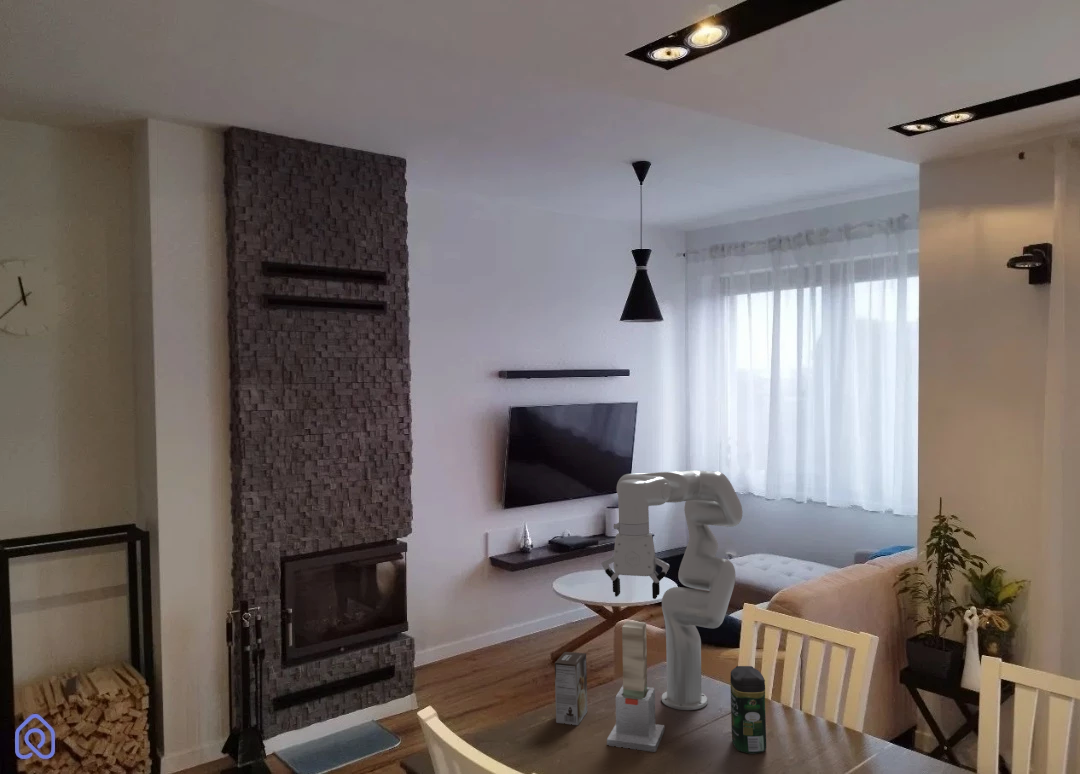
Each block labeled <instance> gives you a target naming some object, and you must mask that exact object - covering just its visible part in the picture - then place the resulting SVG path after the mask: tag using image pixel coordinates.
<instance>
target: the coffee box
mask: <svg viewBox="0 0 1080 774" xmlns="http://www.w3.org/2000/svg"><path fill="white" fill-rule="evenodd" d="M587 670H588V669H587V653H584V652H583V653H582V652H571V651H564V652H563V653H562V654H561V656H559V658H557V660H555V662H554V675H555V676H554V686H555V687H554V689H555V692H554V693H555V695H554V696H555V722H556V723H557V724H564V723H565V724H564V725H571V724H572V725H573V726H579V724H581V722H582V720H583V719H584V717H585V716H586V714H587V713H588V681H587V679H588V676H587V674H588V673H587ZM572 725H571V726H572Z"/></svg>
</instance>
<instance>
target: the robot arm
mask: <svg viewBox="0 0 1080 774" xmlns="http://www.w3.org/2000/svg"><path fill="white" fill-rule="evenodd" d="M616 493H617V499H618V501H617V502H618V522H617V523H613V530H617V531H618V533H617V534H615V538H614V539H615V540H614V552H613V554H614V555H613V556H611V557H609V558H607V559H605V560H603V561H602V562H601V567H602V568H603V570H604V572H605V574H606V575H607V576H608V577H609V578H610V580H611V581H612V592H613V593H614V597H616V598H617V597H619V596H620V594H621V579H620V578H619V576H620V575H621V576H635V577H650V578H651V580H652V585H651V588H652V589H651V590H652V591H651V592H652V599H653V600H656V599H657V597H658V596H660V588H661V587H660V581H661V580H662V579H664V578H665V576H666V575H667V572H668V571H669V569H670V564H669V563H667V562H666V561H664V560H662V559H660V558H659V557H657V556H656V550H655V544H654V538H653V534H652V533H650V518H649V516H650V514H649V512H650V511H649V507H652V506H653V507H654V506H656V507H657V506H662V505H664V504H665V503H668V504H669V503H671V504H672V503H673V504H674V503H675V504H676V503H681V502H684V510H683V511H684V515H685V521H686V525H687V529H688V535H689V536H688V541H687V545H686V549H685V550H684V555H683V557H682V559H681V562H680V565H679V570H678V573H677V574H678V576H677V577H678V580H679V582H680V583H681V585H683V587H680V586H675V587H674V586H673V587H670V588H668V589H667V590H666V591H665V592H664V593H663V596H662V599H661V609H662V614H663V619H664V625H665V642H666V643H665V644H666V645H665V646H666V647H665V649H666V651H665V652H666V691H665V692H663V693H662V694H661V701H662V704H664V705H665V706H667V707H669V708H672V709H675V710H680V711H681V710H682V711H695V710H700V709H703V708H704V707H706V706H707V705H708V696H706V695H705V693H703V691H702V639H701V636H700V633H699V630H698V628H697V627H701V628H707V629H717V628H719V627H720V626H721V625H722V624H723V622H724V619H725V617H726V614H727V611H728V607H729V604H730V600H731V597H732V594H733V591H734V589H735V588H734V587H735V583H736V568H735V565H734V563H733V562H732V561H730V560H729V559H726V558H724V557H723V558H722V557H717V556H716V555H717V552H718V548H719V543H718V540H717V538H716V536H715V534H714V532H713V531H712V530H711V527H710V526H717V527H727V528H733V527H736V526H738V525H739V524H740V522H741V521H742V518H743V507H742V504H741V500H740V498H739V496H738V495H737V492H736V491H735V488H734V485H732V483H731V481H730V480H729V478H728V477H727V476H726V474H724V473H723V472H721V471H717V470H716V471H713V470H712V471H711V470H699V469H698V470H697V469H695V470H694V469H689V470H679V471H678V470H677V471H675V470H674V471H661V472H645V473H643V472H641V473H626V474H623V475H622V476H621V477H620V478H619V480H618V481H617V484H616ZM612 563H613V570H612V569H611V567H610V564H612ZM657 566H659V567H661V568H662V570H661V572H660V573H658V572H657V571H656V569H657ZM684 586H685V587H684Z"/></svg>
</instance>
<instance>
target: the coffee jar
mask: <svg viewBox="0 0 1080 774" xmlns="http://www.w3.org/2000/svg"><path fill="white" fill-rule="evenodd" d="M729 680H730V682H729V683H730V717H731V718H730V719H731V724H730V725H731V741H732V744H733V745H734V747H735V749H736V750H737V751H739V752H741V753H746V754H753V755H755V754H761V753H763V752H765V751H766V750H767V726H766V725H767V724H766V723H767V722H766V721H767V720H766V683H765V682H766V680H765V677H764V675H763V674H762V673H761V672H760V671H759V670H758V669H757V668H755V667H753V666H752V665H737V666H735V667H734V668H733V669H732V670H731V671H730V679H729Z"/></svg>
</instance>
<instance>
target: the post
mask: <svg viewBox="0 0 1080 774" xmlns="http://www.w3.org/2000/svg"><path fill="white" fill-rule="evenodd" d="M621 631H622V632H621V635H622V636H621V637H622V638H621V639H622V640H621V641H622V643H621V644H622V686H623V696H631V697H639V698H645V696H646V694H647V687H648V663H647V662H648V661H647V660H648V659H647V658H648V657H647V656H648V654H647V653H648V652H647V651H648V650H647V648H648V647H647V646H648V645H647V622H644V621H643V622H642V621H630V620H626V621H625V622H624V624H623V625H622V628H621Z"/></svg>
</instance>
